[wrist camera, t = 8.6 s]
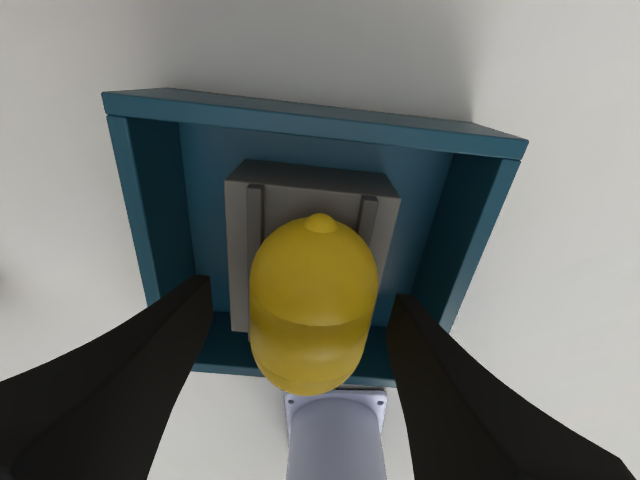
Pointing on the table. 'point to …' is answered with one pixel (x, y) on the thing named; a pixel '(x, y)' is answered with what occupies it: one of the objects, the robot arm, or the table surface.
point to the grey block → (300, 214)
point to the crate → (312, 150)
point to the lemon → (311, 304)
